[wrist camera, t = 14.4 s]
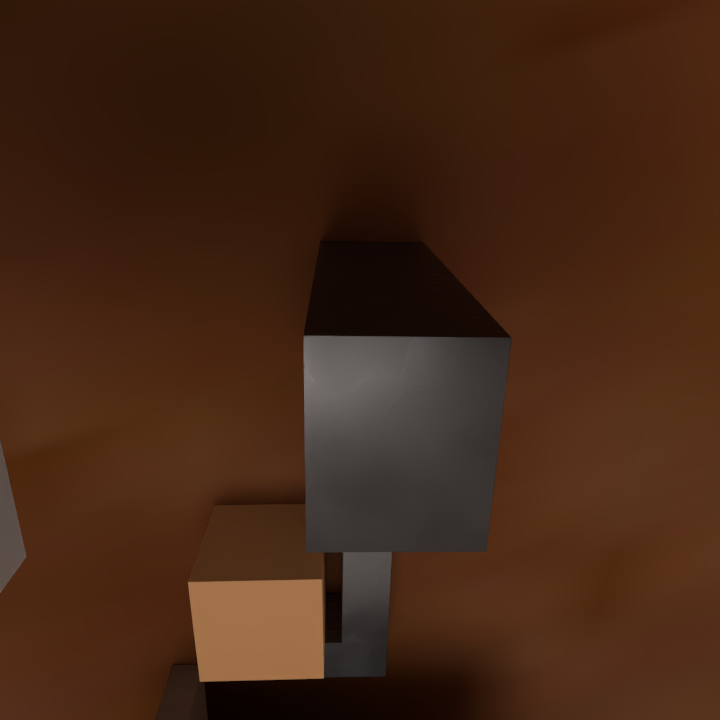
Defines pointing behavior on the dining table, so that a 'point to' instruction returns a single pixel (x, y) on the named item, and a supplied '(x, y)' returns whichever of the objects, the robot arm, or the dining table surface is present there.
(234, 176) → the dining table surface
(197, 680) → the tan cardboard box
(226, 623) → the block
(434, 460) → the hook tool
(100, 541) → the dining table surface
